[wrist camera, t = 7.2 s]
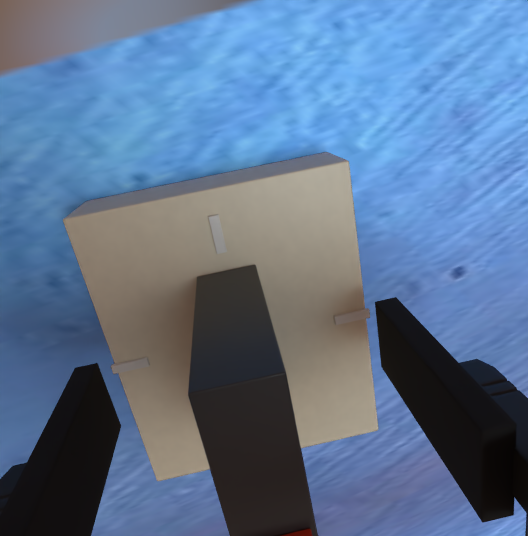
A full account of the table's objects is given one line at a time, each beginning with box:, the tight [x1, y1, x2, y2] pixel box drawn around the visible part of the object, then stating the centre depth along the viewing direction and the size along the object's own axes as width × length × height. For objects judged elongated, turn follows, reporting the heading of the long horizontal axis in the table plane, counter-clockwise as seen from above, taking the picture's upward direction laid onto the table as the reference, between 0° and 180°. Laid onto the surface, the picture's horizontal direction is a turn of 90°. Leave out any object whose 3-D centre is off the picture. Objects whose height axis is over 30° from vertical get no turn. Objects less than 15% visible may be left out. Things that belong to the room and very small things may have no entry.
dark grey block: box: [188, 265, 318, 536], centre depth 14 cm, size 6×2×7 cm, turn 10°
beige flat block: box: [63, 152, 378, 481], centre depth 19 cm, size 12×10×3 cm
